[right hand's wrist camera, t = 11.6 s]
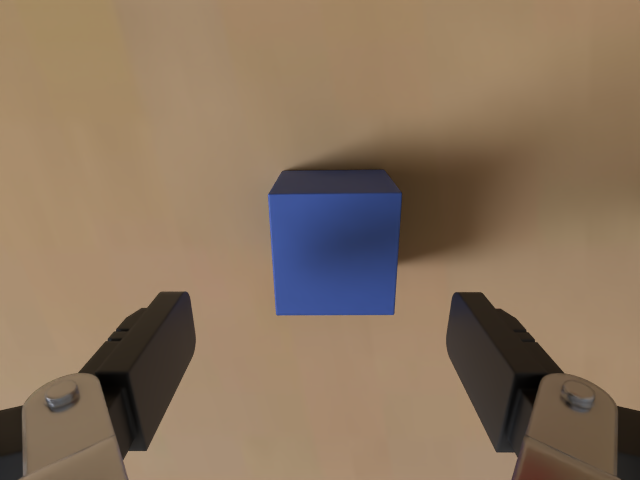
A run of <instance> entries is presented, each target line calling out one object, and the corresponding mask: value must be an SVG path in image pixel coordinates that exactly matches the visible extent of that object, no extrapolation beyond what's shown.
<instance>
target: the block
mask: <svg viewBox="0 0 640 480" xmlns="http://www.w3.org/2000/svg"><path fill="white" fill-rule="evenodd" d="M268 202H269V217H270V231H271V246H272V261H273V276H274V291H275V305H276V315H394V309H395V294H396V279H397V264H398V249H399V234H400V218H401V203H402V192H401V191H400V190H399V189H398V187H397V186H396V185H395V183H394V182H393V181H392V179H391V178H390V177H389V176H388V174H387V173H386V172H385V170H305V171H282V172H281V174H280V176H279V177H278V179H277V181H276V182H275V184H274V186H273V187H272V189H271V191H270V192H269V194H268Z"/></svg>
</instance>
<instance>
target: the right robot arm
mask: <svg viewBox="0 0 640 480" xmlns="http://www.w3.org/2000/svg"><path fill="white" fill-rule="evenodd" d="M195 343H196V336H195V328H194V321H193V314H192V308H191V301H190V296H189V294H188V293H187V292H160V293H159V294H158V295H157V296H156V298H155V299H154V300H153V301H152V303H151V304H150V305H149V306H148V307H147V308H141V309H139V310H138V311H136V312H135V313H133V314H131V315H130V316H128V317H127V318H126V319H125V320H124V321H123V322H122V323H121V324H120V326H119V327H118V328H117V329H116V332H113V334H112V335H111V336H110V337H109V338H108V341H106V342H105V343H104V344H103V345H102V346H101V347H100V348H99V350H98V351H97V352H96V353H95V354H94V355H93V356H92V358H91V359H90V360H89V361H88V362H87V363H86V364H85V366H84V367H83V368H82V369H81V370H80V371H79V372H78V373H76V374H70V375H66V376H63V377H60V378H57V379H55V380H52V381H50V382H48V383H47V384H45V385H43V386H42V387H40V388H39V389H37V390H36V391H35V392H34V393H33V394H31V395H30V397H29V398H28V399H27V400H26V402H25V403H24V405H23V406H18V407H14V408H9V409H5V410H0V480H128V476H127V473H126V470H125V466H124V463H123V459H124V458H125V456H126V454H127V452H128V451H147V449H148V447H149V445H150V443H151V441H152V439H153V436H154V434H155V432H156V430H157V428H158V426H159V424H160V422H161V420H162V418H163V416H164V414H165V412H166V410H167V408H168V406H169V404H170V402H171V400H172V398H173V396H174V394H175V391H176V389H177V387H178V385H179V383H180V381H181V379H182V377H183V375H184V373H185V371H186V369H187V367H188V365H189V363H190V361H191V359H192V357H193V354H194V350H195ZM446 345H447V351H448V355H449V357H450V360H451V362H452V364H453V366H454V368H455V370H456V372H457V374H458V376H459V378H460V380H461V382H462V384H463V386H464V388H465V390H466V392H467V394H468V396H469V398H470V400H471V402H472V404H473V406H474V408H475V410H476V412H477V414H478V416H479V418H480V420H481V422H482V424H483V426H484V428H485V430H486V432H487V434H488V436H489V438H490V440H491V442H492V444H493V446H494V449H495V451H496V452H515V453H516V455H517V457H518V459H517V463H516V466H515V470H514V473H513V476H512V480H640V411H637V410H632V409H628V408H624V407H619V406H617V405H616V403H615V402H614V400H613V399H612V398H611V397H610V395H609V394H607V393H606V392H605V391H604V390H603V389H601V388H600V387H598V386H597V385H595V384H593V383H592V382H590V381H588V380H585V379H583V378H580V377H577V376H574V375H570V374H565V373H564V372H563V371H562V370H561V369H560V368H559V367H558V365H557V364H556V363H555V362H554V361H553V360H552V359H551V358H550V356H549V355H548V354H547V353H546V352H545V351H544V350H543V348H542V347H541V346H540V345H539V344H538V343H537V342H535V339H534V338H533V337H532V336H531V335H530V334H529V333H528V332H526V329H525V328H524V327H523V326H522V325H521V323H520V322H519V321H518V320H517V319H516V318H515V317H513V316H511V315H510V314H508V313H507V312H505V311H503V310H502V309H495V308H494V306H493V305H492V304H491V303H490V302H489V300H488V299H487V298H486V297H485V296H484V294H483V293H481V292H456V293H454V295H453V297H452V301H451V308H450V315H449V322H448V328H447V335H446Z"/></svg>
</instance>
